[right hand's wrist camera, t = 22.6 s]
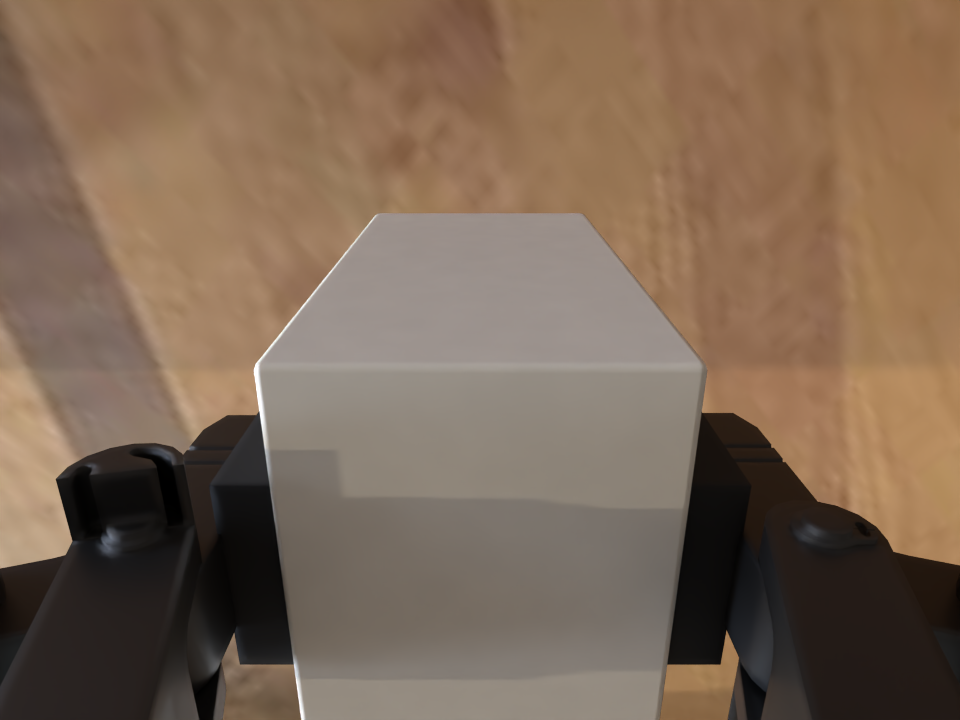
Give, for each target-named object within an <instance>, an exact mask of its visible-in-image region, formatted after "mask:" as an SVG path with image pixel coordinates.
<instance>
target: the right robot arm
mask: <svg viewBox="0 0 960 720" xmlns="http://www.w3.org/2000/svg"><path fill="white" fill-rule="evenodd" d="M56 482H57V485H58V489H59V493H60V496H61V500H62V504H63V507H64V511H65V515H66V518H67V522H68V526H69V529H70V533H71V537H72V541H73V542H72V544H71V546H70V548H69V550H68V552H67V554H66V555H65V556H61V557H57V558H53V559H48V560H43V561H37V562H32V563H27V564H22V565H17V566H12V567H7V568H1V569H0V720H223V712H224V704H225V696H226V685H225V678H224V672H223V667H222V662H221V661H222V658H223V656H224V654H225V652H226V649H227V647H228V645H229V643H230V641H231V638H232V636H233V634H234V633H235V639H236V644H237V650H238V656H239V661H240V664H294V661H293V654H292V646H291V639H290V632H289V624H288V617H287V609H286V602H285V595H284V587H283V580H282V573H281V565H280V558H279V550H278V543H277V536H276V528H275V521H274V514H273V506H272V499H271V492H270V484H269V477H268V469H267V462H266V455H265V447H264V440H263V433H262V425H261V418H260V411H259V412H258V414H257V415H227V416H226V417H224V418H222V419H221V420H219V421H217V422H216V423H214V424H212V425H211V426H209V427H207V428H206V429H204V430H203V431H202V432H201V434H200V435H199V436H198V437H197V438H196V440H195V441H194V442H193V443H192V445H191V446H190V450H187V451H186V452H185V453H184V455H183V454H182V453H180V452H179V451H178V450H176V449H175V448H174V447H171V446H166V445H162V444H157V443H145V444H130V445H125V446H119V447H114V448H109V449H106V450H104V451H101V452H98V453H95V454H92V455H89V456H87V457H85V458H83V459H81V460H80V461H78V462H76V463H74V464H72V465H71V466H69V467H67V468H66V469H65V470H64V471H63V472H62V473H61V474H60V475H59V477H58V478H57V479H56ZM726 630H727V632H728V634H729V636H730V638H731V640H732V643H733V645H734V647H735V649H736V652H737V654H738V656H739V662H738V667H737V672H736V678H735V683H734V688H733V694H732V699H731V704H730V710H729V715H728V720H960V565H954V564H949V563H944V562H939V561H934V560H928V559H923V558H918V557H913V556H908V555H904V554H900V553H896V552H893V550H892V548H891V546H890V544H889V542H888V540H887V539H886V538H885V537H884V535H883V534H882V533H881V532H880V531H879V529H878V528H877V527H876V526H874V525H873V524H871V523H870V522H868V521H867V520H865V519H864V518H862V517H861V516H859V515H858V514H855V513H853V512H850V511H848V510H845V509H843V508H840V507H838V506H835V505H830V504H826V503H821V502H817V500H816V499H815V498H814V497H813V495H812V494H811V493H810V492H809V491H808V489H807V488H806V487H805V486H804V484H803V483H802V482H801V481H800V479H799V478H798V477H797V476H796V475H795V473H794V472H793V471H792V470H791V468H790V467H789V466H788V465H787V463H786V462H783V459H782V457H781V456H780V455H779V454H778V452H777V451H776V450H775V449H774V448H771V444H770V443H769V441H768V440H767V439H766V438H765V436H764V435H763V434H762V433H761V431H760V430H759V429H758V428H757V427H756V426H754V425H752V424H751V423H749V422H747V421H746V420H744V419H742V418H740V417H739V416H737V415H735V414H734V413H701V420H700V427H699V435H698V442H697V449H696V457H695V464H694V471H693V479H692V486H691V493H690V501H689V508H688V515H687V523H686V530H685V537H684V545H683V552H682V559H681V567H680V574H679V581H678V589H677V596H676V603H675V611H674V618H673V625H672V633H671V640H670V647H669V655H668V662H667V664H721V658H722V652H723V647H724V641H725V635H726Z"/></svg>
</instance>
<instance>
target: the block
mask: <svg viewBox="0 0 960 720" xmlns="http://www.w3.org/2000/svg"><path fill="white" fill-rule="evenodd" d="M254 374H255V381H256V388H257V396H258V403H259V410H260V418H261V425H262V433H263V440H264V447H265V455H266V462H267V469H268V477H269V484H270V492H271V499H272V506H273V514H274V521H275V528H276V536H277V543H278V550H279V558H280V565H281V573H282V580H283V587H284V595H285V602H286V609H287V617H288V624H289V632H290V639H291V646H292V654H293V661H294V668H295V676H296V683H297V690H298V698H299V705H300V713H301V720H660V713H661V706H662V699H663V691H664V684H665V677H666V669H667V662H668V655H669V647H670V640H671V633H672V625H673V618H674V611H675V603H676V596H677V589H678V581H679V574H680V567H681V559H682V552H683V545H684V537H685V530H686V523H687V515H688V508H689V501H690V493H691V486H692V479H693V471H694V464H695V457H696V449H697V442H698V435H699V427H700V420H701V413H702V405H703V398H704V391H705V383H706V376H707V367H706V364H705V363H704V361H703V360H702V359H701V358H700V357H699V355H698V354H697V353H696V352H695V350H694V349H693V348H692V347H691V345H690V344H689V343H688V342H687V341H686V339H685V338H684V337H683V336H682V334H681V333H680V332H679V331H678V329H677V328H676V327H675V326H674V325H673V323H672V322H671V321H670V320H669V318H668V317H667V316H666V315H665V313H664V312H663V311H662V310H661V309H660V307H659V306H658V305H657V304H656V302H655V301H654V300H653V299H652V297H651V296H650V295H649V294H648V293H647V291H646V290H645V289H644V288H643V286H642V285H641V284H640V283H639V281H638V280H637V279H636V278H635V277H634V275H633V274H632V273H631V272H630V270H629V269H628V268H627V267H626V266H625V264H624V263H623V262H622V261H621V259H620V258H619V257H618V256H617V254H616V253H615V252H614V251H613V250H612V248H611V247H610V246H609V245H608V243H607V242H606V241H605V240H604V238H603V237H602V236H601V235H600V234H599V232H598V231H597V230H596V229H595V227H594V226H593V225H592V224H591V222H590V221H589V220H588V219H587V218H586V216H585V215H584V214H581V213H379V214H377V215H375V217H374V218H373V219H372V220H371V222H370V223H369V224H368V225H367V227H366V228H365V229H364V230H363V232H362V233H361V234H360V235H359V236H358V238H357V239H356V240H355V241H354V243H353V244H352V245H351V246H350V248H349V249H348V250H347V251H346V253H345V254H344V255H343V256H342V258H341V259H340V260H339V261H338V263H337V264H336V265H335V266H334V268H333V269H332V270H331V271H330V273H329V274H328V275H327V276H326V277H325V279H324V280H323V281H322V282H321V284H320V285H319V286H318V287H317V289H316V290H315V291H314V292H313V294H312V295H311V296H310V297H309V299H308V300H307V301H306V302H305V304H304V305H303V306H302V307H301V309H300V310H299V311H298V312H297V314H296V315H295V316H294V317H293V319H292V320H291V321H290V322H289V323H288V325H287V326H286V327H285V328H284V330H283V331H282V332H281V333H280V335H279V336H278V337H277V338H276V340H275V341H274V342H273V343H272V345H271V346H270V347H269V348H268V350H267V351H266V352H265V353H264V355H263V356H262V357H261V358H260V360H259V361H258V362H257V363H256V365H255V369H254Z"/></svg>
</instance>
